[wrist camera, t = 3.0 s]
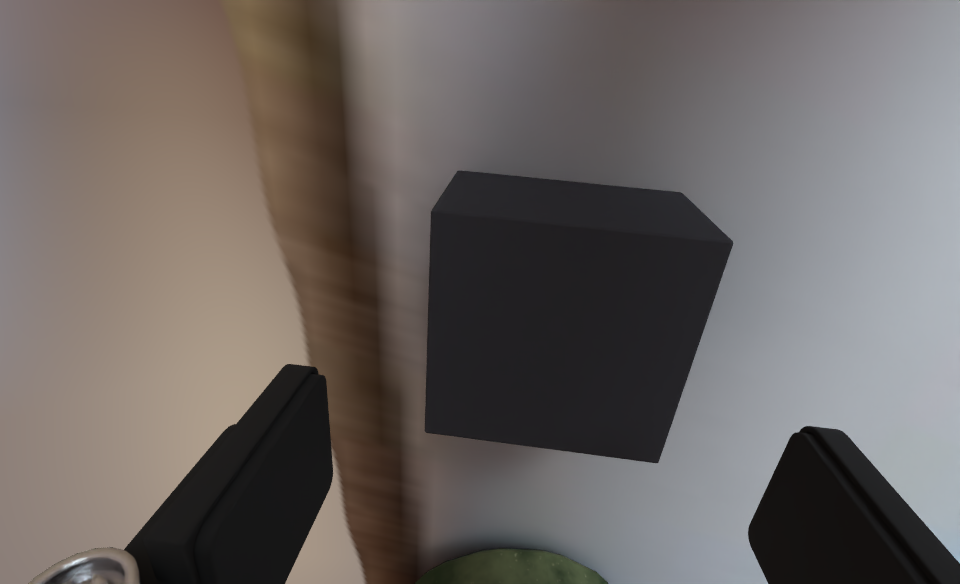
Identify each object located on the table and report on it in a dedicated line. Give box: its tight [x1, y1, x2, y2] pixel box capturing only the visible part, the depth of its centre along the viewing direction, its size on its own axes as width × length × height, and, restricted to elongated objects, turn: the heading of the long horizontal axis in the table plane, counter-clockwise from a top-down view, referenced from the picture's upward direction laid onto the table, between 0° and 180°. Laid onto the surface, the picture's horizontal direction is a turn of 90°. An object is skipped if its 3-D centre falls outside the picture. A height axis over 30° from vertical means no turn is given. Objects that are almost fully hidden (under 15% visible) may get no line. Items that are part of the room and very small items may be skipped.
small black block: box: [425, 171, 733, 463], centre depth 13 cm, size 6×6×4 cm
